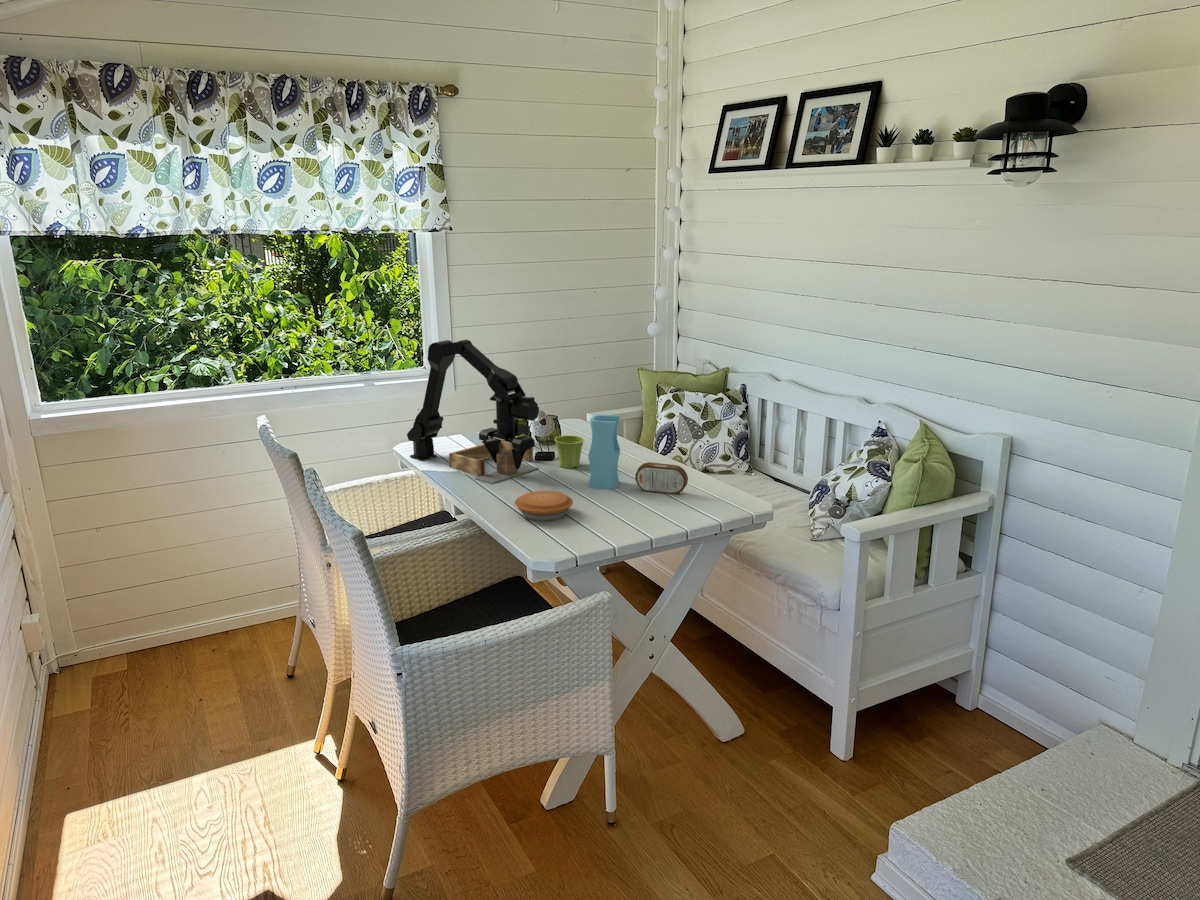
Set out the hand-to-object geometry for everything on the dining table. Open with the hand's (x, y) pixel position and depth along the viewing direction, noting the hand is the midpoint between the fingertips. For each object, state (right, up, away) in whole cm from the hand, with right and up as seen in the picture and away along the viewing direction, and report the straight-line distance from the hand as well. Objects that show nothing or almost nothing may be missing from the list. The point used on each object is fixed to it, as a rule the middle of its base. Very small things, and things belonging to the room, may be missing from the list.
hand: (507, 465), depth 267 cm
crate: (-6, 0, +11) cm, 12 cm away
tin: (+46, -7, -15) cm, 49 cm away
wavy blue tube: (+30, -5, -8) cm, 31 cm away
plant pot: (+19, 0, +10) cm, 21 cm away
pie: (+13, -12, -33) cm, 37 cm away
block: (0, -2, +1) cm, 2 cm away
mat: (0, -2, +1) cm, 3 cm away
